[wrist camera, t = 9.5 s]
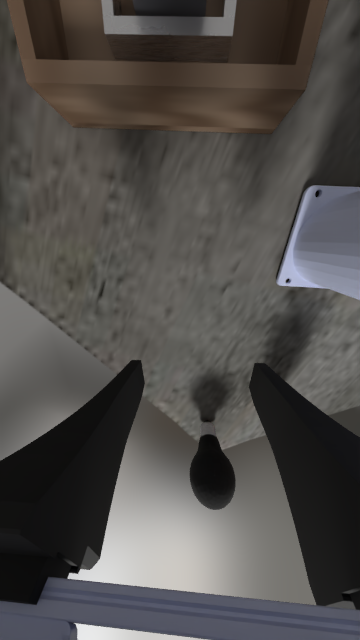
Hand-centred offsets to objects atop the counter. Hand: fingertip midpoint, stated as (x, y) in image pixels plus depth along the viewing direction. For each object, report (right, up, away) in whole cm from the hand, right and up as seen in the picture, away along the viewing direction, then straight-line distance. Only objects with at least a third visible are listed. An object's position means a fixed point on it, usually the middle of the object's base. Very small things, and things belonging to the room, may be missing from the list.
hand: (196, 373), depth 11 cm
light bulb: (+4, -14, +17) cm, 23 cm away
